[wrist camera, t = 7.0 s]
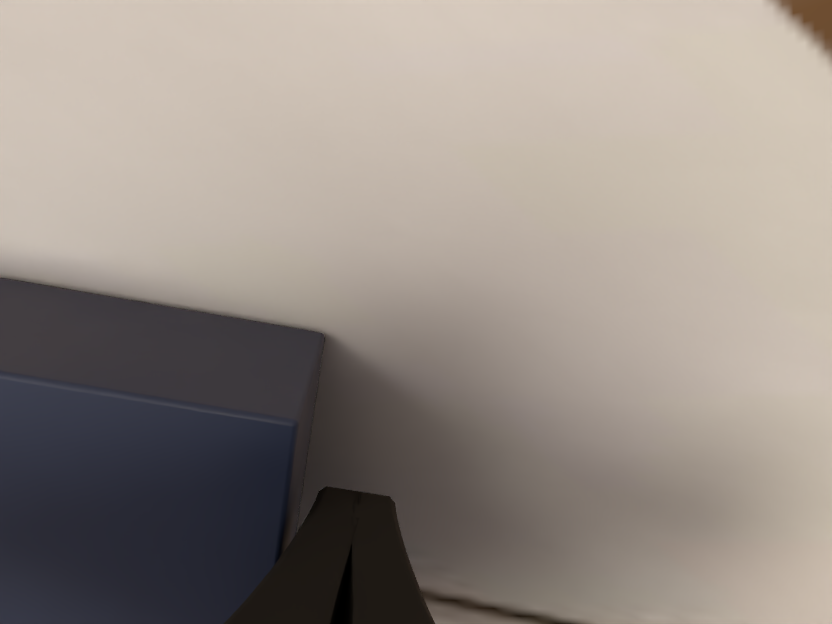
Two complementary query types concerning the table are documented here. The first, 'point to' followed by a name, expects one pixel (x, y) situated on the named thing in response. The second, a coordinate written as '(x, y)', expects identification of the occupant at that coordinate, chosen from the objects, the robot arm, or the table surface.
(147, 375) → the navy blue rectangular block
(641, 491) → the table surface
